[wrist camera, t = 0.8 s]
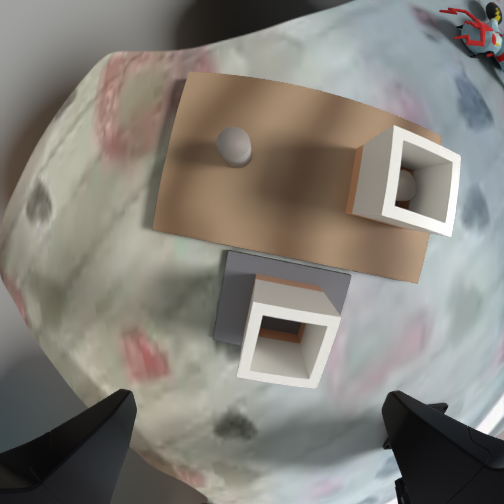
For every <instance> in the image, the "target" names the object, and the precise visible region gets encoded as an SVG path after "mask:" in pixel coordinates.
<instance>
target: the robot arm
mask: <svg viewBox="0 0 504 504" xmlns="http://www.w3.org/2000/svg"><path fill="white" fill-rule="evenodd" d="M447 408H448V405H447V403H443V404H435V405H426V404H424V403H422V402H420V401H418V400H416V399H414V398H412V397H411V396H409V395H407V394H405V393H403V392H401V391H399V390H397V391H392V392H389V393H388V395H387V397H386V400H385V402H384V404H383V406H382V416H383V419H384V423H385V427H386V431H387V434H388V439H387V440H386V442H385V443H384V444H383V448H384V450H386V449H392V451H393V453H394V456H395V458H396V461H397V464H398V466H399V469H400V472H401V475H402V477H401V478H399V479H397V480H395V485H396V487H395V489H396V494H397V500H398V504H504V440H501V439H498V438H495V437H492V436H490V435H487V434H484V433H482V432H480V431H477V430H475V429H473V428H471V427H469V426H468V427H467V425H465V424H463V423H461V422H459V421H457V420H455V419H453V418H451V417H449V416H447V415H445V414H444V413H445V412H446V410H447ZM136 413H137V407H136V403H135V399H134V395H133V393H132V391H130V390H126V389H119V390H118V391H116V392H114V393H113V394H111V395H110V396H108V397H106V398H105V399H103V400H101V401H100V402H98V403H97V404H95V405H93V406H92V407H90V408H88V409H87V410H85V411H83V412H82V413H80V414H78V415H77V416H75V417H73V418H72V419H70V420H68V421H67V422H65V423H63V424H61V425H60V426H58V427H56V428H54V429H53V430H51V431H50V432H47V433H45V434H44V435H42V436H40V437H38V438H36V439H34V440H32V441H30V442H27V443H25V444H23V445H20V446H18V447H15V448H13V449H10V450H7V451H4V452H2V453H0V504H110V501H111V498H112V495H113V492H114V489H115V486H116V483H117V480H118V477H119V474H120V471H121V468H122V465H123V462H124V459H125V456H126V454H127V451H128V448H129V444H130V440H131V435H132V431H133V426H134V422H135V418H136Z"/></svg>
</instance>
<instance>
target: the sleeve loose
mask: <svg viewBox="0 0 504 504" xmlns="http://www.w3.org/2000/svg"><path fill="white" fill-rule="evenodd" d="M263 315H265V316H270V317H275V318H281V319H286V320H292V321H298V322H301V325H300V329H299V332H298V334H292V333H286V332H280V331H274V330H269V329H263V328H260V325H261V320H262V316H263ZM340 321H341V316H340V314H339V313H338V312H337V310H336V309H335V307H334V306H333V304H332V303H331V302H330V300H329V299H328V297H327V296H326V295H325V293H324V292H323V290H322V289H321V288H320V286H317V285H311V284H306V283H301V282H296V281H291V280H285V279H280V278H275V277H270V276H265V275H260V274H256V278H255V283H254V287H253V292H252V297H251V302H250V306H249V311H248V316H247V320H246V325H245V330H244V335H243V341H242V348H241V354H240V360H239V366H238V372H237V377H240V378H245V379H251V380H257V381H263V382H269V383H275V384H283V385H290V386H298V387H307V388H317V385H318V383H319V380H320V378H321V375H322V372H323V370H324V367H325V364H326V362H327V359H328V356H329V353H330V351H331V348H332V345H333V342H334V339H335V336H336V333H337V330H338V327H339V324H340Z"/></svg>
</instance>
